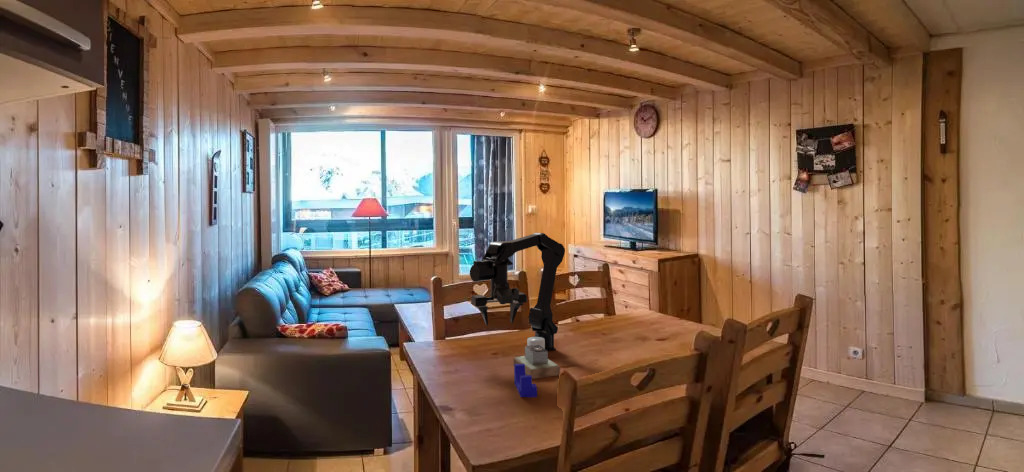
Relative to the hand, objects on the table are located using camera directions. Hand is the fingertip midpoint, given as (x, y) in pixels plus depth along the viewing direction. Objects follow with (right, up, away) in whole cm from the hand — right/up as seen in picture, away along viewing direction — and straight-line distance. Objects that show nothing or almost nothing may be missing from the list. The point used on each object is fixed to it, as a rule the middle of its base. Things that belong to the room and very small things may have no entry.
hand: (499, 323), depth 183 cm
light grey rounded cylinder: (+13, -12, +2) cm, 18 cm away
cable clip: (+8, -15, -28) cm, 32 cm away
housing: (+12, -10, -10) cm, 19 cm away
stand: (+12, -13, -10) cm, 21 cm away
